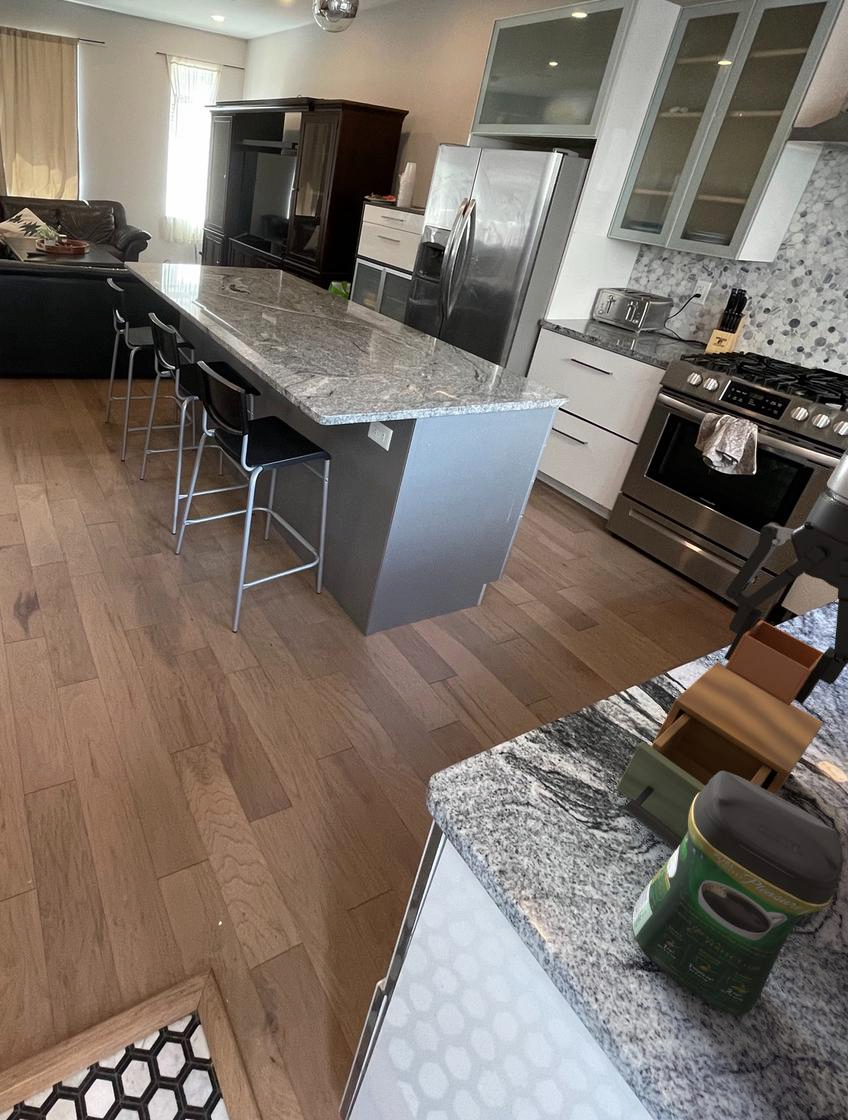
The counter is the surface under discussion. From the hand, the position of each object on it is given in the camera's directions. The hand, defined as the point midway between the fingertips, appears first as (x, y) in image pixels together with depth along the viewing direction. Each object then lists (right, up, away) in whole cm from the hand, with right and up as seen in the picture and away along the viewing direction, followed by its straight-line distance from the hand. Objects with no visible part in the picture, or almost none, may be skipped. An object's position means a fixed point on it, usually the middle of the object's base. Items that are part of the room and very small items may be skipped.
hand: (765, 676), depth 73 cm
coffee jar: (-20, -19, -17) cm, 33 cm away
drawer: (-13, -13, -4) cm, 19 cm away
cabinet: (-2, -13, +5) cm, 14 cm away
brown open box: (0, 0, 0) cm, 0 cm away
